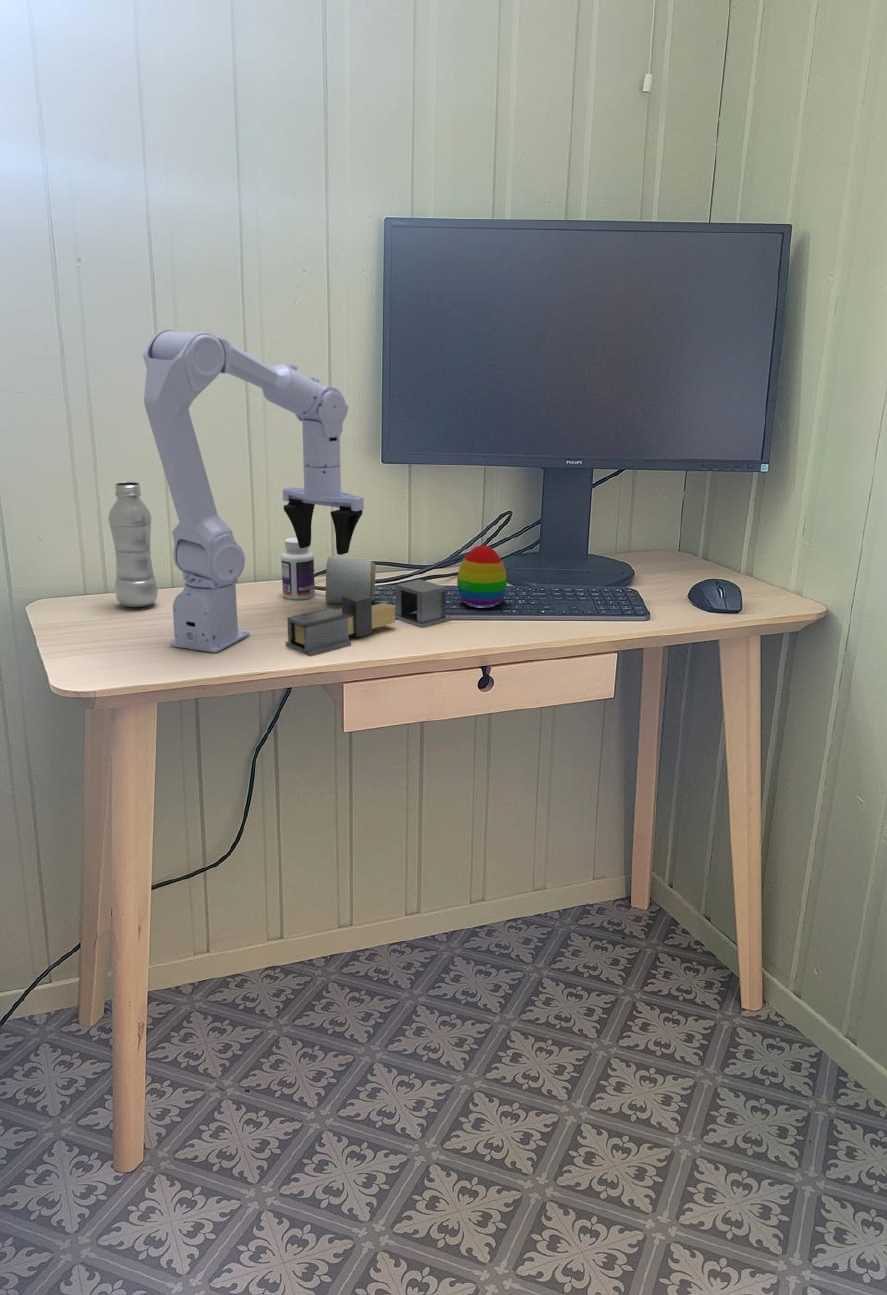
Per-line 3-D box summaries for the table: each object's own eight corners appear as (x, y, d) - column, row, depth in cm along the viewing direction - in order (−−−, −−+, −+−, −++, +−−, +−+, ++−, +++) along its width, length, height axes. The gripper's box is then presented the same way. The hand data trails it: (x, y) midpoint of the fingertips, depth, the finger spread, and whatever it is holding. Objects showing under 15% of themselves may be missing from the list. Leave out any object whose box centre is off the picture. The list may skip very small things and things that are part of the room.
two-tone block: (307, 649, 156) (306, 612, 154) (293, 643, 159) (292, 607, 157) (396, 626, 167) (396, 591, 166) (382, 621, 170) (382, 587, 168)
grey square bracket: (422, 627, 168) (422, 593, 167) (391, 617, 173) (391, 584, 172) (450, 620, 172) (450, 587, 171) (419, 610, 177) (419, 578, 176)
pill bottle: (317, 592, 187) (316, 536, 184) (311, 600, 182) (309, 543, 179) (286, 591, 187) (284, 535, 184) (279, 599, 182) (277, 542, 179)
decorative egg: (466, 613, 176) (467, 552, 173) (450, 599, 184) (451, 541, 180) (513, 609, 179) (515, 549, 176) (495, 595, 186) (497, 538, 183)
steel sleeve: (310, 655, 155) (309, 625, 154) (285, 645, 159) (284, 616, 158) (351, 644, 160) (350, 615, 159) (326, 635, 164) (325, 606, 163)
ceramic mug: (375, 608, 178) (375, 562, 176) (325, 609, 177) (324, 562, 175) (375, 592, 188) (375, 548, 186) (328, 592, 187) (327, 548, 185)
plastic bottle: (153, 611, 175) (144, 487, 168) (111, 611, 175) (100, 487, 168) (163, 600, 181) (154, 480, 174) (122, 600, 181) (111, 480, 174)
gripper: (374, 466, 169) (375, 551, 173) (301, 457, 176) (303, 539, 180) (347, 472, 163) (348, 560, 168) (273, 462, 170) (276, 547, 175)
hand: (323, 550), depth 174 cm, fingers open, 7 cm apart
